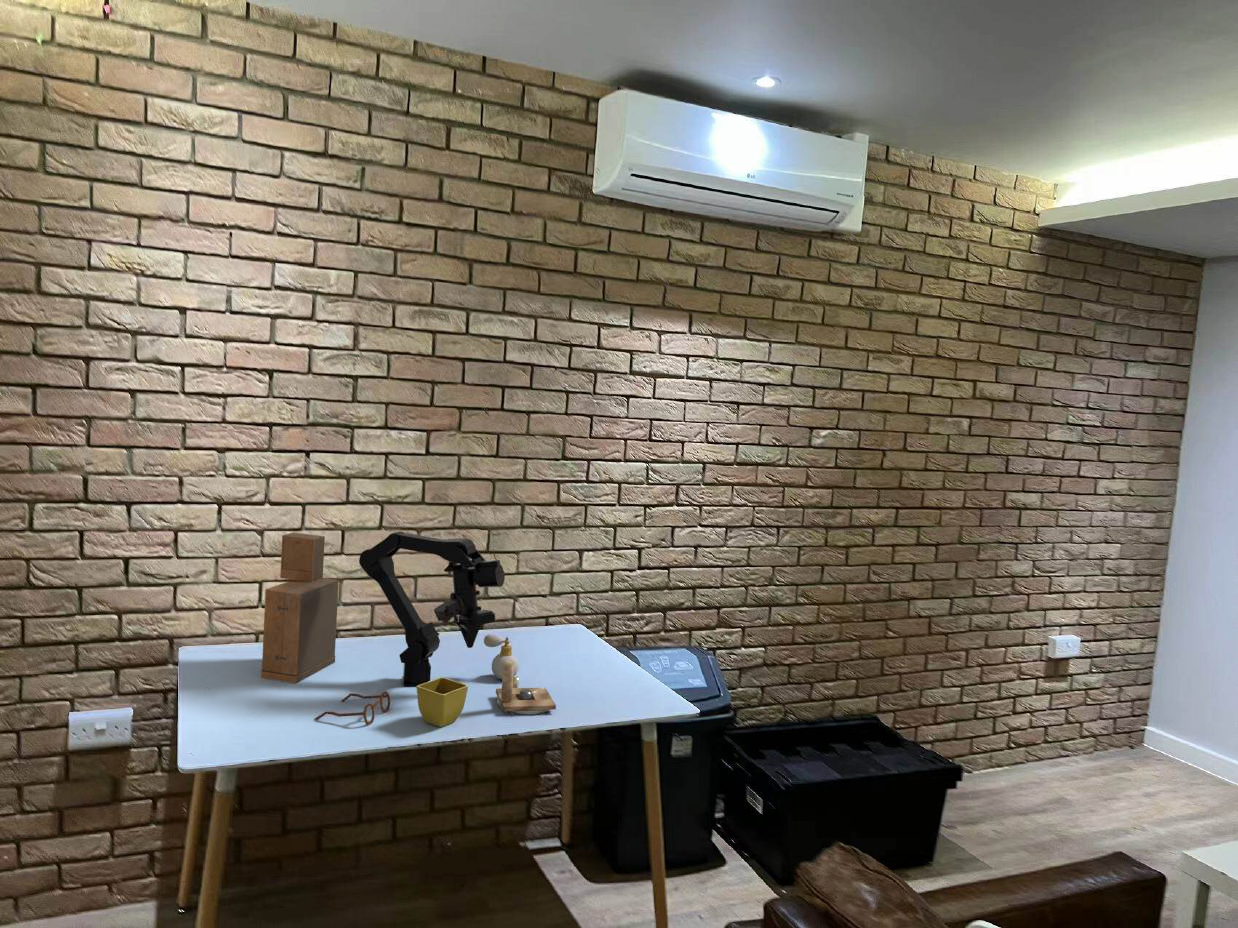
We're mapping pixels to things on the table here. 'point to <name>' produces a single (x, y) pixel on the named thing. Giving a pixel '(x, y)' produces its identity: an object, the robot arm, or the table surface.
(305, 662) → the stacked wooden blocks
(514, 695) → the flange plate
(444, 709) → the flower pot
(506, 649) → the perfume bottle
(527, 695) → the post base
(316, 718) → the glasses
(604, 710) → the table surface
